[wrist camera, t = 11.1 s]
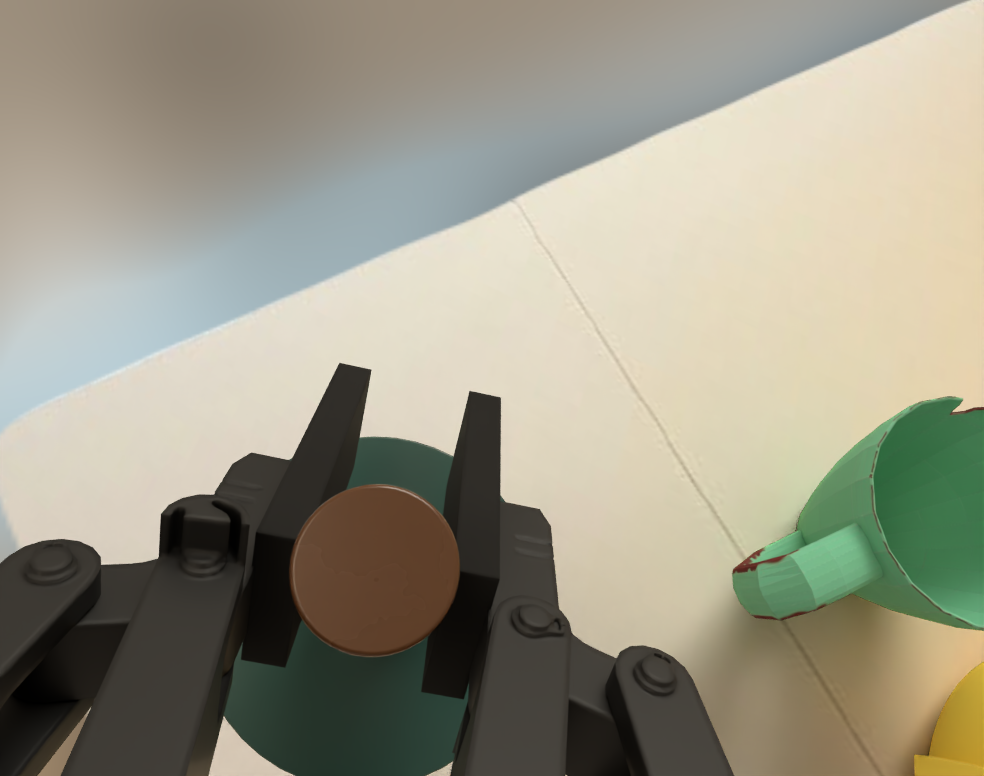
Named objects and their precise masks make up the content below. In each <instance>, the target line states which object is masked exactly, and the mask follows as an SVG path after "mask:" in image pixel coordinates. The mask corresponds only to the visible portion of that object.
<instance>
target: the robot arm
mask: <svg viewBox="0 0 984 776" xmlns="http://www.w3.org/2000/svg"><path fill="white" fill-rule="evenodd" d="M370 375H371V370H370V369H365V368H360V367H356V366H351V365H346V364H342V363H339V365H338V367H337V369H336V371H335V373H334V375H333V377H332V379H331V381H330V383H329V385H328V387H327V389H326V391H325V393H324V395H323V397H322V399H321V401H320V404H319V406H318V408H317V410H316V412H315V414H314V416H313V418H312V420H311V422H310V424H309V426H308V428H307V430H306V432H305V434H304V436H303V438H302V440H301V442H300V444H299V446H298V448H297V450H296V452H295V454H294V456H293V458H292V460H291V461H290V460H285V459H280V458H275V457H270V456H265V455H261V454H256V453H250V454H248V455H247V456H245V457H243V458H242V459H240V460H238V461H237V462H235V463H233V464H232V466H231V467H230V469H229V470H228V472H227V474H226V475H225V477H224V478H223V481H222V482H221V483H220V485H219V486H218V488H217V490H216V491H215V494H214V495H195V496H190V497H185V498H182V499H180V500H178V501H176V502H174V503H172V504H170V505H169V506H168V507H167V508H166V509H165V510H164V511H163V513H162V514H161V525H160V545H159V557H158V559H155V560H151V561H147V562H143V563H134V564H114V565H101V557H100V556H99V554H98V553H97V552H96V551H95V550H94V548H93V547H90V546H88V545H86V544H84V543H82V542H80V541H72V540H65V539H58V540H47V541H41V542H38V543H34V544H31V545H28V546H25V547H23V548H21V549H20V550H18V551H16V552H15V553H13V554H11V555H10V556H8V557H7V558H6V559H5V560H4V561H3V562H1V563H0V776H37V775H38V774H39V773H40V772H41V770H42V769H43V768H44V766H45V765H46V764H47V763H48V761H49V760H50V759H51V758H52V756H53V755H54V754H55V752H56V751H57V750H58V749H59V747H60V746H61V745H62V743H63V742H64V741H65V740H66V738H67V737H68V736H69V734H70V733H71V732H72V730H73V729H74V728H75V727H76V725H77V724H78V723H79V722H80V720H81V719H82V718H83V717H84V715H85V714H86V713H87V711H88V710H89V709H90V708H91V709H90V711H89V714H88V716H87V718H86V720H85V722H84V725H83V727H82V729H81V731H80V734H79V736H78V738H77V740H76V743H75V745H74V747H73V749H72V751H71V754H70V756H69V758H68V760H67V763H66V765H65V767H64V770H63V772H62V774H61V776H208V775H209V771H210V767H211V763H212V759H213V755H214V751H215V747H216V743H217V739H218V735H219V732H220V728H221V724H222V720H223V716H224V712H225V708H226V704H227V700H228V696H229V692H230V688H231V685H232V679H233V670H234V661H235V659H236V656H237V654H238V652H239V649H240V647H241V645H242V642H243V645H242V654H241V660H244V661H250V662H255V663H261V664H267V665H272V666H278V667H284V668H285V667H286V664H287V661H288V658H289V655H290V653H291V650H292V647H293V644H294V641H295V638H296V635H297V632H298V629H299V626H300V623H301V620H302V618H301V617H300V615H299V613H298V611H297V609H296V607H295V605H294V601H293V598H292V595H291V590H290V584H289V565H290V557H291V553H292V549H293V546H294V543H295V540H296V538H297V536H298V534H299V532H300V530H301V528H302V526H303V525H304V524H305V522H306V521H307V519H308V518H309V517H310V516H311V514H312V513H313V512H314V511H315V510H316V509H317V508H318V507H319V506H321V505H322V504H323V503H324V502H325V501H327V500H328V499H330V498H331V497H333V496H334V495H336V494H338V493H340V492H342V491H345V490H346V489H347V486H348V483H349V480H350V477H351V474H352V471H353V468H354V465H355V459H356V453H357V448H358V442H359V437H360V431H361V426H362V420H363V414H364V409H365V403H366V398H367V392H368V386H369V381H370ZM500 445H501V398H500V397H495V396H491V395H486V394H481V393H477V392H472V391H470V392H469V396H468V400H467V404H466V408H465V412H464V417H463V421H462V425H461V429H460V433H459V437H458V441H457V445H456V449H455V453H454V457H453V461H452V466H451V470H450V474H449V478H448V482H447V487H446V495H445V503H444V511H443V517H444V518H445V520H446V521H447V523H448V524H449V526H450V528H451V530H452V532H453V534H454V537H455V540H456V543H457V547H458V551H459V558H460V578H459V584H458V589H457V592H456V595H455V599H454V601H453V603H452V605H451V608H450V610H449V611H448V613H447V615H446V616H445V618H444V619H443V621H442V622H441V623H440V624H439V626H438V627H437V628H436V629H435V630H434V631H433V632H432V633H431V634H430V635H429V636H428V640H427V648H426V656H425V664H424V673H423V681H422V689H421V692H424V693H430V694H435V695H441V696H447V697H452V698H458V699H463V700H464V697H465V694H466V690H467V687H468V684H469V693H468V702H467V705H466V708H465V712H464V715H463V718H462V722H461V725H460V728H459V731H458V735H457V738H456V741H455V745H454V748H453V751H452V753H455V755H454V760H453V765H452V770H451V775H450V776H565V774H566V775H568V776H734V774H733V772H732V770H731V767H730V765H729V763H728V760H727V758H726V756H725V753H724V751H723V749H722V746H721V744H720V742H719V739H718V737H717V735H716V732H715V730H714V728H713V726H712V723H711V721H710V719H709V716H708V714H707V712H706V709H705V707H704V705H703V702H702V700H701V698H700V695H699V693H698V691H697V688H696V686H695V684H694V681H693V679H692V678H691V676H690V675H689V673H688V672H687V670H686V669H685V667H684V666H682V665H681V664H680V663H679V662H678V661H677V660H676V659H675V658H673V657H672V656H670V655H668V654H666V653H664V652H663V651H661V650H659V649H655V648H651V647H647V646H630V647H628V648H626V649H625V650H623V651H621V652H620V653H619V655H618V657H617V659H616V658H614V657H612V656H610V655H607V654H605V653H603V652H601V651H599V650H596V649H594V648H592V647H590V646H589V645H587V644H585V643H583V642H582V641H581V640H579V639H578V638H577V637H576V636H574V635H573V634H572V633H571V628H570V624H569V621H568V620H567V618H566V617H565V616H564V614H563V613H562V611H560V610H559V605H558V595H557V585H556V575H555V565H554V560H553V557H554V555H553V546H552V534H551V526H550V524H549V523H548V521H547V520H546V518H545V517H544V515H543V514H542V512H541V511H540V509H536V508H531V507H526V506H521V505H516V504H511V503H506V502H501V501H500ZM91 706H92V707H91Z"/></svg>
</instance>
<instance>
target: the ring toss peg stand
mask: <svg viewBox="0 0 984 776" xmlns="http://www.w3.org/2000/svg"><path fill="white" fill-rule="evenodd" d="M291 460H292V459H290V461H291ZM452 461H453V456H451V455H449V454H447V453H445V452H443V451H441V450H439V449H436V448H434V447H431V446H428V445H425V444H421V443H418V442H415V441H410V440H404V439H399V438H390V437H362V438H359V442H358V448H357V453H356V459H355V465H354V468H353V471H352V474H351V477H350V480H349V483H348V486H347V489H346V490H345V491H342V492H340V493H338V494H336V495H334V496H333V497H331V498H330V499H328V500H327V501H325V502H324V503H323V504H322V505H321V506H319V507H318V508H317V509H316V510H315V511H314V512H313V513H312V514H311V516H310V517H309V518H308V519H307V521H306V522H305V524H304V525H303V526H302V528H301V530H300V532H299V534H298V536H297V538H296V540H295V543H294V546H293V549H292V553H291V557H290V565H289V584H290V590H291V595H292V598H293V601H294V605H295V607H296V609H297V611H298V613H299V615H300V617H301V618H302V620H301V623H300V626H299V629H298V632H297V635H296V638H295V641H294V644H293V647H292V650H291V653H290V655H289V658H288V661H287V664H286V667H285V668H284V667H278V666H272V665H267V664H261V663H255V662H250V661H244V660H241V654H242V645H243V642H242V645H241V647H240V649H239V652H238V654H237V656H236V659H235V661H234V670H233V679H232V685H231V688H230V692H229V696H228V700H227V704H226V708H225V712H224V716H225V718H226V720H227V721H228V723H229V724H230V725H231V726H232V727H233V729H234V730H235V731H236V732H237V733H238V735H239V736H240V737H241V738H242V739H243V740H244V741H245V742H246V743H247V744H248V745H249V746H250V747H251V748H252V749H254V750H255V751H256V752H257V753H258V754H259V755H260V756H262V757H263V758H265V759H266V760H268V761H269V762H271V763H272V764H274V765H275V766H277V767H278V768H280V769H282V770H284V771H286V772H288V773H290V774H293V775H295V776H426V775H428V774H430V773H433V772H435V771H437V770H439V769H441V768H443V767H445V766H446V765H448V764H449V763H451V762H453V760H454V755H455V753H452V751H453V748H454V745H455V741H456V738H457V735H458V731H459V728H460V725H461V722H462V718H463V715H464V712H465V708H466V705H467V702H468V693H469V684H468V687H467V690H466V694H465V697H464V700H463V699H458V698H452V697H447V696H441V695H435V694H430V693H424V692H421V689H422V681H423V673H424V664H425V656H426V648H427V640H428V636H429V635H430V634H431V633H432V632H433V631H434V630H435V629H436V628H437V627H438V626H439V624H440V623H441V622H442V621H443V619H444V618H445V616H446V615H447V613H448V611H449V610H450V608H451V605H452V603H453V601H454V599H455V595H456V592H457V589H458V584H459V578H460V558H459V551H458V547H457V543H456V540H455V537H454V534H453V532H452V530H451V528H450V526H449V524H448V523H447V521H446V520H445V518H444V517H443V511H444V503H445V495H446V487H447V482H448V478H449V474H450V470H451V466H452ZM500 501H501V502H505V501H504V500H503V498H502V497H501V495H500Z"/></svg>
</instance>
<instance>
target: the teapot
mask: <svg viewBox="0 0 984 776" xmlns="http://www.w3.org/2000/svg"><path fill="white" fill-rule="evenodd" d="M914 766H915V776H984V662H982V663H981V664H979V665H978V666H977V667H975V668H974V669H973V670H971V671H970V672H969V673H968V674H967V675H966V676H965V677H964V678H963V679H962V680H961V681H960V682H959V683H958V685H957V686H956V688H955V689H954V691H953V692H952V693H951V695H950V696H949V698H948V700H947V702H946V704H945V706H944V708H943V710H942V712H941V714H940V716H939V718H938V721H937V724H936V727H935V730H934V733H933V736H932V741H931V746H930V751H929V756H924V755H914Z"/></svg>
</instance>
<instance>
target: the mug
mask: <svg viewBox="0 0 984 776" xmlns="http://www.w3.org/2000/svg"><path fill="white" fill-rule="evenodd" d="M962 401H963V398H958V397H952V396H947V397H942V398H937V399H932V400H927V401H922V402H918V403H916V404H914V405H911V406H909V407H908V408H906V409H904V410H903V411H901V412H900V413H898V414H897V415H895V416H894V417H892V418H890V419H889V420H887V421H886V422H884V423H883V424H881V425H880V426H879V427H877V428H876V429H875V430H874V431H873V432H871V433H870V434H869V435H868V436H866V437H865V438H864V439H862V440H861V441H860V442H859V443H857V444H856V445H855V446H854V447H853V448H852V449H851V450H850V451H849V452H847V453H846V454H845V455H844V456H843V457H842V458H841V459H840V460H839V461H838V462H837V463H836V464H835V466H834V467H833V468H832V469H831V470H830V472H829V473H828V474H827V475H826V476H825V478H824V479H823V480H822V481H821V482H820V484H819V485H818V487H817V488H816V490H815V491H814V492H813V494H812V495H811V497H810V498H809V500H808V502H807V503H806V505H805V507H804V509H803V510H802V512H801V514H800V517H799V521H798V525H797V531H796V532H794V533H792V534H790V535H788V536H786V537H784V538H782V539H780V540H778V541H776V542H774V543H772V544H770V545H768V546H766V547H764V548H762V549H760V550H758V551H756V552H754V553H753V554H752V555H751V556H749V557H748V558H747V559H745V560H744V561H743V562H742V563H740V564H739V565H738V566H737V567H735V568H734V569H733V573H732V576H733V588H734V590H735V593H736V595H737V597H738V599H739V601H740V603H741V604H742V605H743V607H744V608H745V609H746V610H747V611H748V612H749V613H750V614H751V615H752V616H754V617H755V618H762V619H773V620H784V619H787V618H791V617H795V616H798V615H802V614H805V613H809V612H812V611H816V610H818V609H820V608H822V607H824V606H826V605H828V604H830V603H833V602H835V601H837V600H839V599H841V598H843V597H845V596H847V595H849V594H851V593H852V594H854V595H856V596H859V597H861V598H863V599H866V600H868V601H870V602H873V603H875V604H878V605H880V606H882V607H885V608H887V609H890V610H893V611H896V612H900V613H903V614H907V615H911V616H914V617H918V618H921V619H925V620H929V621H933V622H937V623H941V624H945V625H949V626H953V627H956V628H964V629H973V630H982V631H984V407H977V408H972V409H969V410H966V411H960V412H952V411H953V410H954V409H955V408H957V407H958V406H959V405H960V404H961V402H962Z"/></svg>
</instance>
